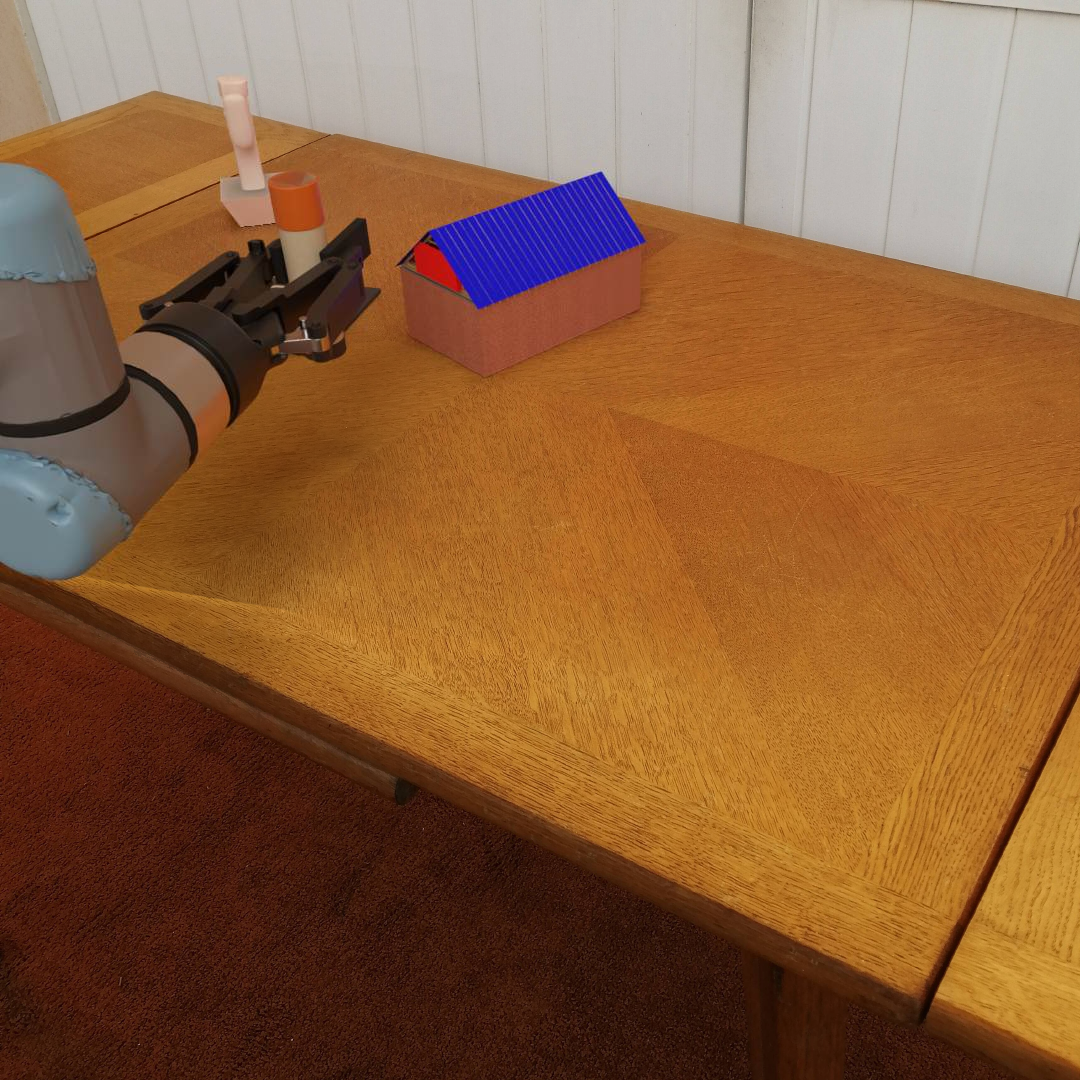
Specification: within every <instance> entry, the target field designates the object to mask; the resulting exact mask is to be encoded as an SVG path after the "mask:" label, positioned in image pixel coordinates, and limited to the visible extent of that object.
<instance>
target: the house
mask: <svg viewBox="0 0 1080 1080" xmlns="http://www.w3.org/2000/svg"><path fill="white" fill-rule="evenodd" d="M644 243H647V240H646V239H645V237H644V235H643V233H642V232H641V230H640V229H639V228H638V226H637V225H636V223H635V221H634V219H633V218H632V217H631V215H630V214H629V212H628V210H627V209H626V207H625V205H624V204H623V203H622V201H621V199H620V197H619V196H618V194H617V193H616V191H615V190H614V188H613V187H612V185H611V184H610V182H609V180H608V178H607V177H606V175H605V174H604V173H603V171H602V170H601V171H598V172H595V173H592V174H589V175H586V176H583V177H581V178H577V179H575V180H572V181H569V182H566V183H564V184H560V185H557V186H554V187H551V188H549V189H546V190H543V191H540V192H536V193H534V194H531V195H528V196H525V197H523V198H520V199H517V200H514V201H511V202H508V203H505V204H502V205H499V206H496V207H493V208H491V209H488V210H485V211H481V212H478V213H476V214H473V215H470V216H467V217H464V218H461V219H458V220H456V221H452V222H450V223H447V224H444V225H442V226H438V227H437V228H436V227H435V228H433V229H430V230H428V231H427V232H426V233H425V234H424V235H423V236H422V237H421V238H420V239H419V240H418V241H417V242H416V243H415V244H414V246H412V247H411V249H410V250H409V251H408V252H407V253H406V254H405V255H404V256H403V257H402V259H400V261H399V262H398V263H397V264H396V265H395V266H394V267H395V268H396V267H399V273H400V280H401V289H402V295H403V301H404V310H405V317H406V325H407V331H408V332H407V333H408V336H410V337H412V338H413V339H415V340H417V341H419V342H420V343H422V344H424V345H425V346H427V347H429V348H431V349H433V350H435V351H436V352H438V353H440V354H442V355H443V356H445V357H448V358H449V359H450V360H453V361H454V362H456V363H457V364H459V365H461V366H464V368H467V369H469V370H470V371H472V372H474V373H475V374H478V375H479V376H481V377H483V378H487V377H490V376H491V375H494V374H496V373H499V372H502V371H503V370H505V369H509V368H510V367H512V366H514V365H517V364H518V363H519V364H520V363H522V362H523V361H526V360H528V359H530V358H533V357H535V356H537V355H540V354H541V353H544V352H546V351H548V350H550V349H552V348H556V347H557V346H559V345H562V344H564V343H566V342H568V341H571V340H573V339H576V338H577V337H579V336H582V335H584V334H587V333H589V332H591V331H593V330H595V329H598V328H600V327H602V326H604V325H608V324H609V323H611V322H613V321H615V320H618V319H620V318H622V317H624V316H627V315H629V314H631V313H634V312H636V311H638V310H641V308H642V244H644Z"/></svg>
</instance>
